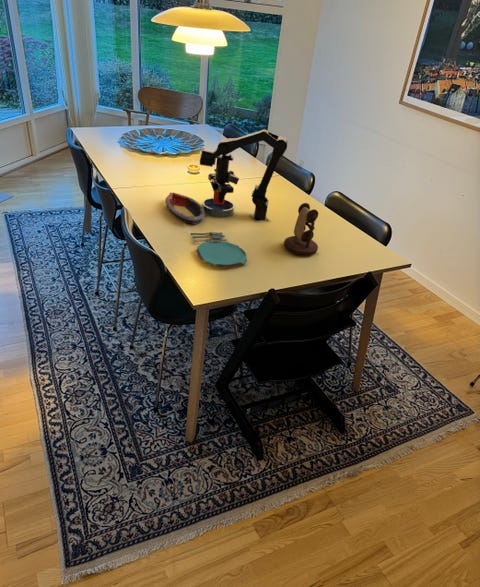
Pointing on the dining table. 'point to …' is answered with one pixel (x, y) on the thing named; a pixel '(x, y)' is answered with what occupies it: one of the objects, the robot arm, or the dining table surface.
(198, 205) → the dish
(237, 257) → the cutlery set
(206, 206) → the bowl
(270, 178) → the robot arm
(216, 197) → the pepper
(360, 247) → the dining table surface
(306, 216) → the brown upright piece
